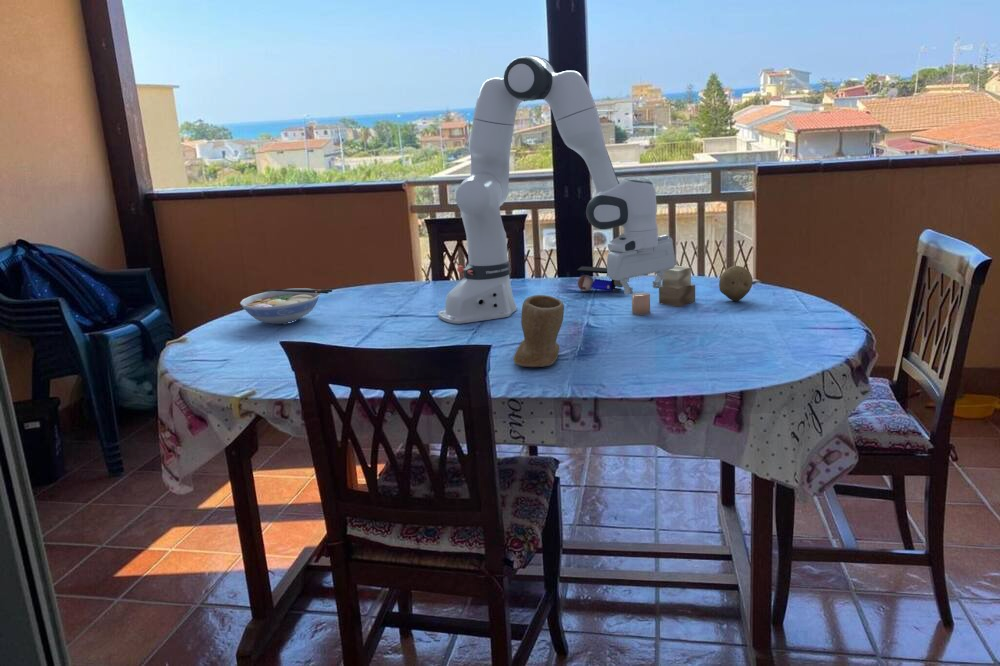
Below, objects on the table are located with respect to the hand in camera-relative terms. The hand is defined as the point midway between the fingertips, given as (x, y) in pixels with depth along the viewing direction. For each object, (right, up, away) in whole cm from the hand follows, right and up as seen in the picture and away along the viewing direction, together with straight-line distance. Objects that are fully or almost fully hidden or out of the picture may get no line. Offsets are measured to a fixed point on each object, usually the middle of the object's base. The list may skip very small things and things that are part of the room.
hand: (643, 290), depth 215 cm
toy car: (-7, +1, +29) cm, 30 cm away
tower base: (+11, -3, +10) cm, 15 cm away
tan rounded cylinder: (0, -6, +2) cm, 6 cm away
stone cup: (-29, -18, -32) cm, 46 cm away
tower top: (+11, +2, +8) cm, 14 cm away
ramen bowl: (-101, -8, +20) cm, 104 cm away
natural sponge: (+27, -3, +6) cm, 27 cm away
